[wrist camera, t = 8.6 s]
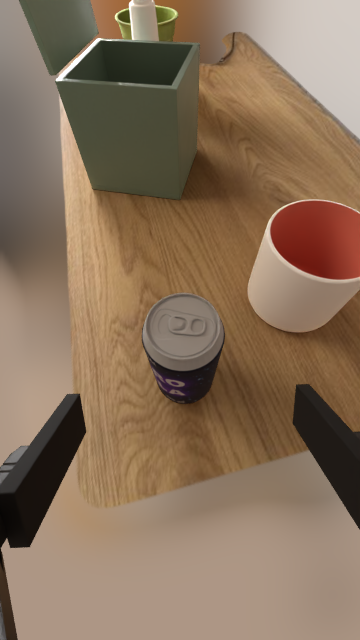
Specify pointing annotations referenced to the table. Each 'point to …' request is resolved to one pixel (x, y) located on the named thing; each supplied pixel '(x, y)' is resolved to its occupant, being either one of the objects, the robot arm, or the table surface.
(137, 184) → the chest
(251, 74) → the table surface
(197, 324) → the beverage can
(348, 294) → the cup
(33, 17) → the lid
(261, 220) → the table surface
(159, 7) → the plant pot
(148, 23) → the cosmetic bottle
